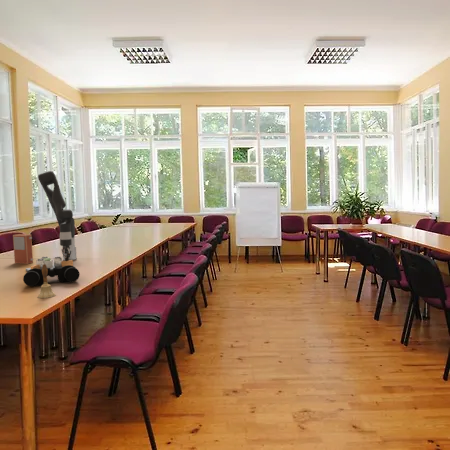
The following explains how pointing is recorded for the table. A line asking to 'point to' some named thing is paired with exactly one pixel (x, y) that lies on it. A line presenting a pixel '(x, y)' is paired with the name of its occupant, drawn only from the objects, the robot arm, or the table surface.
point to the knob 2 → (61, 262)
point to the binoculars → (51, 275)
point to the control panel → (23, 248)
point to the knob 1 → (39, 264)
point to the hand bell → (45, 285)
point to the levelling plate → (48, 263)
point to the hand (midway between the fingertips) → (66, 263)
